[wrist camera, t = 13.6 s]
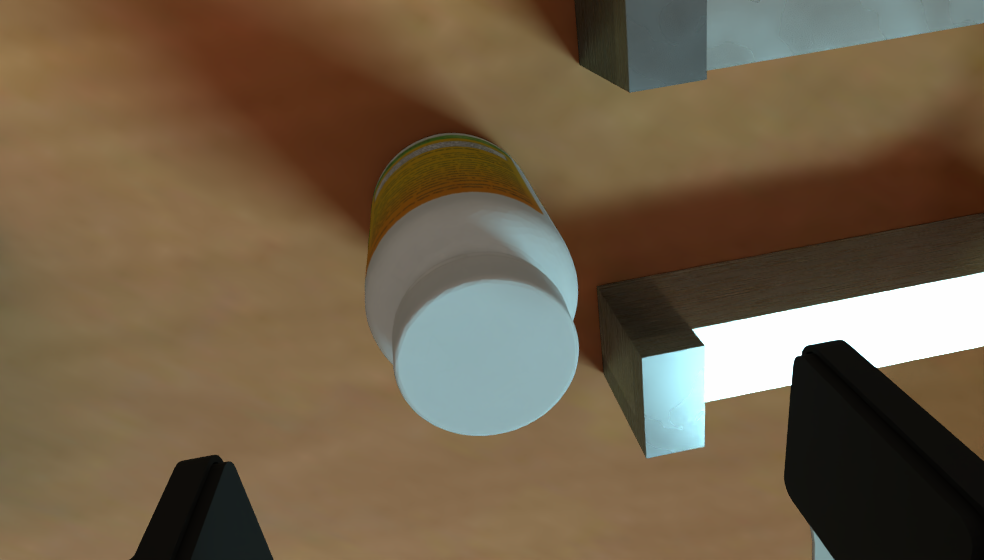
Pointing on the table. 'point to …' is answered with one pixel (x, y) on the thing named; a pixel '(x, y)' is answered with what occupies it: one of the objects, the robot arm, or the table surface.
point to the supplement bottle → (469, 287)
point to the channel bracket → (780, 275)
